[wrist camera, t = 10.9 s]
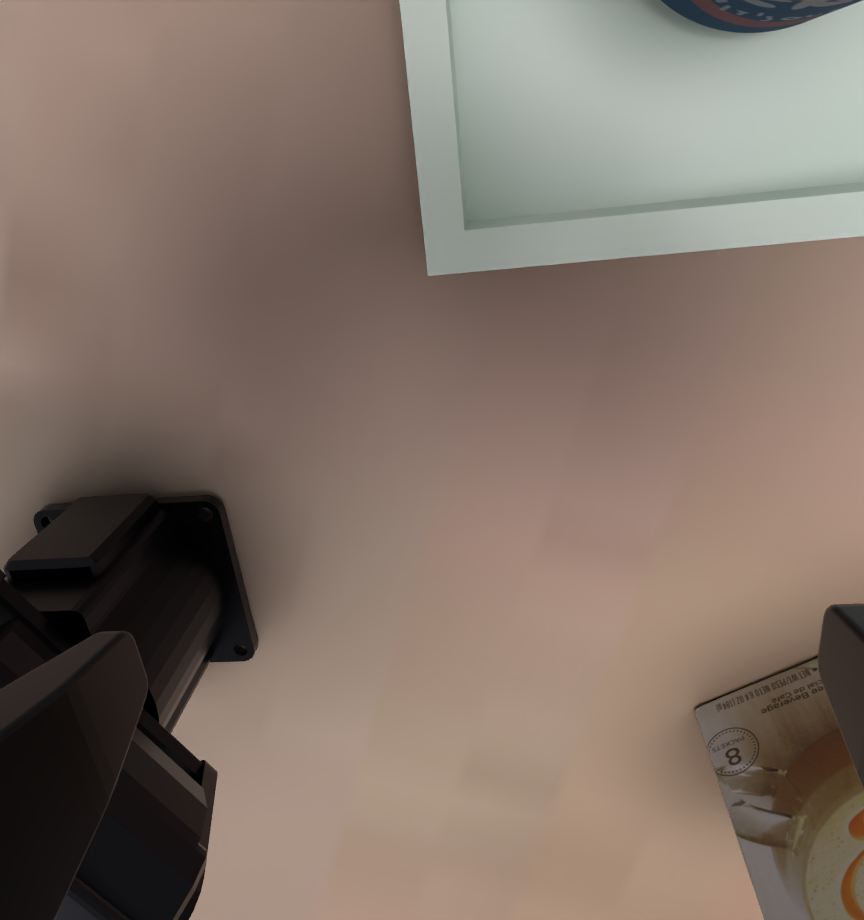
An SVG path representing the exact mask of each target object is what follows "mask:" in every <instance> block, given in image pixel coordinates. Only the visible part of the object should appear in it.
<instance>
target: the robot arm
mask: <svg viewBox="0 0 864 920" xmlns="http://www.w3.org/2000/svg"><path fill="white" fill-rule="evenodd" d="M202 508H208V509H209V510H211V512H212V513H213V515H212V516H210V515H207V514H205V513H204V512H203V510H202ZM48 517H50V518H52V519H53V520H54V521H52V522H50V520H49V519H48ZM34 524H35V527H36V529H37V532H38V534H37V535H36V536H35V537H34V538H33V539H32V540H31V541H29V542H28V543H27V544H26V545H25V546H24V547H22V548H21V549H20V550H19V551H18V552H17V553H16V554H14V555H13V556H12V557H11V558H10V559H9V560H8V562H7V563H6V565H5V566H4V568H3V569H4V572H5V574H4V573H3V572H2V571H1V570H0V920H189V918H190V916H191V914H192V912H193V910H194V908H195V905H196V903H197V900H198V898H199V895H200V892H201V888H202V884H203V879H204V874H205V867H206V859H207V851H208V843H209V835H210V827H211V820H212V812H213V804H214V797H215V789H216V781H217V771H216V770H215V769H214V768H213V767H212V766H210V765H209V764H208V763H207V762H206V761H205V760H202V761H199V760H198V759H197V758H196V757H195V756H194V755H193V754H192V753H191V752H190V751H189V750H188V749H187V748H185V747H184V746H183V745H182V744H181V743H180V742H179V741H178V740H177V739H176V738H175V737H174V736H173V735H171V732H172V730H173V728H174V727H175V725H176V723H177V721H178V719H179V717H180V716H181V714H182V712H183V710H184V708H185V706H186V704H187V703H188V701H189V699H190V697H191V695H192V693H193V692H194V690H195V688H196V686H197V684H198V682H199V681H200V679H201V677H202V675H203V673H204V671H205V669H206V668H207V666H208V664H209V662H233V661H247V660H249V659H251V658H252V657H253V655H254V653H255V651H256V649H257V647H258V643H257V638H256V634H255V630H254V626H253V622H252V618H251V614H250V610H249V606H248V602H247V598H246V594H245V590H244V586H243V582H242V578H241V574H240V570H239V566H238V562H237V558H236V554H235V550H234V546H233V542H232V538H231V534H230V530H229V526H228V522H227V518H226V514H225V509H224V507H223V505H222V503H221V502H220V501H219V500H218V499H217V498H215V497H213V496H207V495H204V496H187V497H170V498H156V497H155V496H152V495H150V494H133V495H116V496H99V497H83V498H79V499H78V500H77V501H75V502H74V503H68V504H51V505H47V506H45V507H43V508H42V509H41V510H40V511H39V512H37V513H36V514H35V516H34ZM6 576H7V578H6V579H4V578H5V577H6ZM238 644H241V645H244V646H245V647H246V649H245V648H241V647H240V646H239V645H238ZM818 670H819V675H820V678H821V681H822V684H823V686H824V689H825V691H826V694H827V697H828V699H829V702H830V704H831V707H832V710H833V712H834V715H835V717H836V720H837V723H838V725H839V728H840V731H841V733H842V736H843V738H844V741H845V744H846V746H847V749H848V751H849V754H850V757H851V759H852V762H853V764H854V767H855V770H856V772H857V775H858V777H859V780H860V782H861V784H862V787H863V789H864V604H834V605H831V606H829V607H828V608H827V609H826V611H825V614H824V618H823V625H822V632H821V639H820V646H819V653H818Z"/></svg>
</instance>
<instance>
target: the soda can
mask: <svg viewBox="0 0 864 920" xmlns="http://www.w3.org/2000/svg"><path fill="white" fill-rule="evenodd" d="M661 1H662V2H663V3H664V4H666V5H667V6H668V7H669V8H671V9H672V10H674V11H675V12H677V13H678V14H680V15H682V16H683V17H685V18H687V19H689V20H691V21H693V22H696V23H698V24H700V25H703V26H706V27H709V28H713V29H717V30H722V31H728V32H735V33H762V32H769V31H776V30H780V29H785V28H789V27H792V26H796V25H799V24H802V23H805V22H807V21H810V20H812V19H815V18H818V17H820V16H823V15H826V14H828V13H831V12H834V11H836V10H839V9H842V8H844V7H847V6H850V5H852V4H855V3H857V2H860V1H863V0H661Z"/></svg>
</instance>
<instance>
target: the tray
mask: <svg viewBox="0 0 864 920" xmlns="http://www.w3.org/2000/svg"><path fill="white" fill-rule="evenodd" d="M399 2H400V12H401V22H402V31H403V41H404V51H405V60H406V70H407V80H408V89H409V99H410V109H411V118H412V128H413V138H414V147H415V157H416V166H417V176H418V186H419V195H420V205H421V215H422V224H423V234H424V244H425V253H426V263H427V273H428V276H434V275H445V274H456V273H467V272H478V271H489V270H500V269H511V268H521V267H532V266H543V265H554V264H565V263H576V262H587V261H598V260H609V259H619V258H630V257H641V256H652V255H663V254H674V253H685V252H696V251H707V250H717V249H728V248H739V247H750V246H761V245H772V244H783V243H794V242H805V241H815V240H826V239H837V238H848V237H859V236H864V0H863V1H860V2H857V3H855V4H852V5H850V6H847V7H844V8H842V9H839V10H836V11H834V12H831V13H828V14H826V15H823V16H820V17H818V18H815V19H812V20H810V21H807V22H805V23H802V24H799V25H796V26H792V27H789V28H785V29H780V30H776V31H769V32H762V33H735V32H728V31H722V30H717V29H713V28H709V27H706V26H703V25H700V24H698V23H696V22H693V21H691V20H689V19H687V18H685V17H683V16H682V15H680V14H678V13H677V12H675V11H674V10H672V9H671V8H669V7H668V6H667V5H666V4H664V3H663V2H662V1H661V0H399Z"/></svg>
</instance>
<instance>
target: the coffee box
mask: <svg viewBox="0 0 864 920" xmlns="http://www.w3.org/2000/svg"><path fill="white" fill-rule="evenodd" d="M695 714H696V718H697V721H698V723H699V726H700V729H701V732H702V735H703V738H704V741H705V744H706V747H707V750H708V752H709V755H710V758H711V761H712V764H713V767H714V770H715V773H716V776H717V779H718V782H719V785H720V788H721V792H722V795H723V798H724V801H725V804H726V807H727V809H728V812H729V815H730V818H731V821H732V824H733V827H734V830H735V833H736V836H737V839H738V842H739V846H740V849H741V852H742V855H743V857H744V860H745V863H746V866H747V869H748V873H749V876H750V878H751V881H752V884H753V887H754V890H755V893H756V896H757V899H758V902H759V905H760V908H761V911H762V914H763V917H764V920H864V789H863V787H862V784H861V782H860V780H859V777H858V775H857V772H856V770H855V767H854V764H853V762H852V759H851V757H850V754H849V751H848V749H847V746H846V744H845V741H844V738H843V736H842V733H841V731H840V728H839V725H838V723H837V720H836V717H835V715H834V712H833V710H832V707H831V704H830V702H829V699H828V697H827V694H826V691H825V689H824V686H823V684H822V681H821V678H820V675H819V670H818V658H817V659H814V660H812V661H809V662H807V663H804V664H802V665H800V666H797V667H795V668H792V669H790V670H787V671H785V672H782V673H780V674H777V675H775V676H772V677H770V678H768V679H765V680H763V681H760V682H758V683H755V684H753V685H750V686H748V687H746V688H743V689H741V690H738V691H736V692H733V693H731V694H729V695H726V696H724V697H721V698H719V699H717V700H714V701H712V702H710V703H707V704H705V705H703V706H701V707H699V708H697V709H696V711H695Z"/></svg>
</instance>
